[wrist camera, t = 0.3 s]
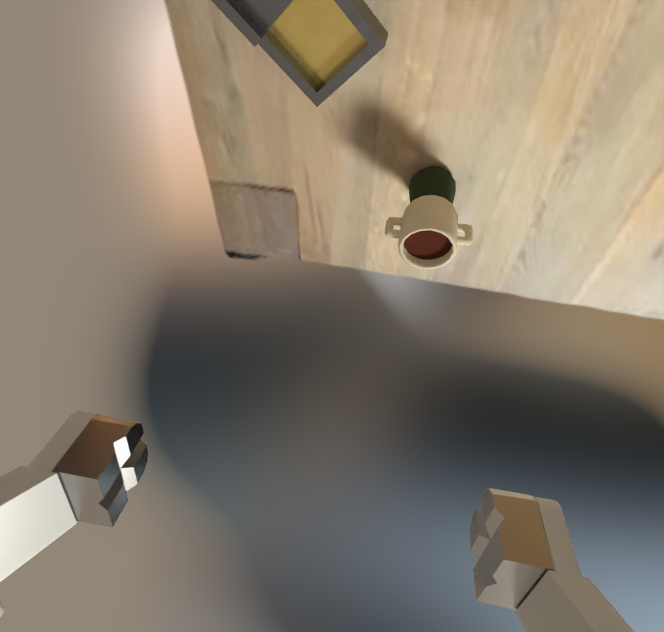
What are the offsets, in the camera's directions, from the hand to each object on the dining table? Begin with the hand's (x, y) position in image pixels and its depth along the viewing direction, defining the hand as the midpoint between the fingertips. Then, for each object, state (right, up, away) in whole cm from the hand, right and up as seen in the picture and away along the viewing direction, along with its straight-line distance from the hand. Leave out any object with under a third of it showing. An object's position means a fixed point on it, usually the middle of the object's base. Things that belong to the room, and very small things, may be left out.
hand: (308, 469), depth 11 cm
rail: (-4, +38, +37) cm, 53 cm away
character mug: (+15, +22, +52) cm, 59 cm away
